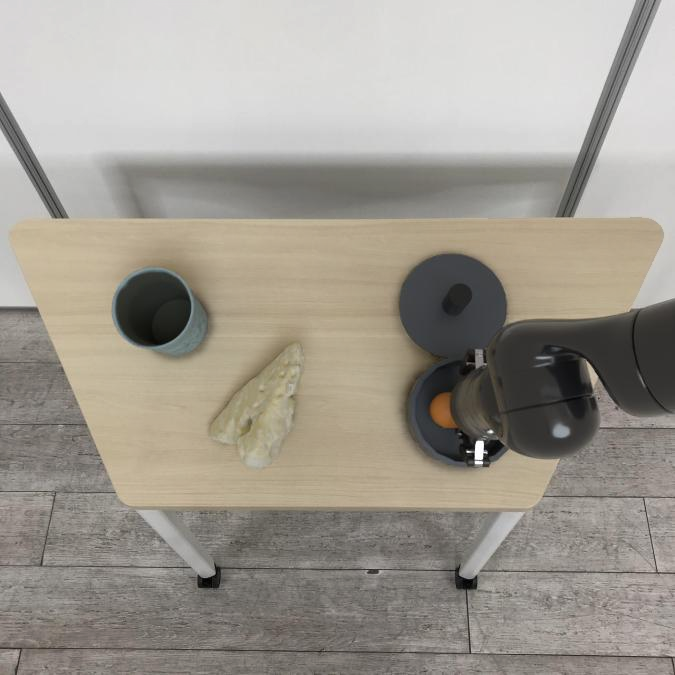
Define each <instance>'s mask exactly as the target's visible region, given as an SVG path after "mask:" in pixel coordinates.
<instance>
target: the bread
mask: <svg viewBox="0 0 675 675" xmlns="http://www.w3.org/2000/svg"><path fill="white" fill-rule="evenodd" d="M450 396H451V392H444V393H442V394H439V395H437V396H436V397H435V398H434V399H433V400H432V402H431V405H430V415H431V417H432V419H433V421H434V422H435V423H436V424H438V425H439V426H441V428H454V429H455V428H458V426H457V425H456V424H455V422H454V420H453V418H452V415H451V412H450Z"/></svg>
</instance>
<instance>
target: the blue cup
mask: <svg viewBox="0 0 675 675" xmlns="http://www.w3.org/2000/svg"><path fill="white" fill-rule="evenodd" d="M110 312H111V318H112V321H113V324H114V327H115V329H116V331H117V333H118V334H119V335H120V336H121V337H122V339H124V340H125V341H126V342H127V343H129V344H131V345H132V346H134V347H137V348H139V349H144V350H150V351H155V352H158V353H164V354H167V355H172V356H180V355H185V354H188V353H190V352H191V351H194V350H196V348H198V347H199V346H200V345H201V343H202V342H203V341H204V339H205V338H206V335H207V333H208V329H209V328H208V327H209V320H208V316H207V313H206V310H205V308H204V307H203V306H202V304H201V303H200V301H199V300H198V298H197V297H196V296H195V295H194V293H193V291H192V289H191V288H190V286H189V284H188V283H187V282H186V281H185V280H184V279H183V277H181V276H180V275H179V274H178V273H176V272H175V271H173V270H170V269H168V268H165V267H160V266H148V267H144V268H141V269H137V270H135V271H134V272H132V273H131V274H129V275H128V276H126V277H125V278H124V279H123V280H122V281H121V282H120V284H119V285H118V286H117V288H116V290H115V292H114V295H113V298H112V301H111V310H110Z"/></svg>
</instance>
